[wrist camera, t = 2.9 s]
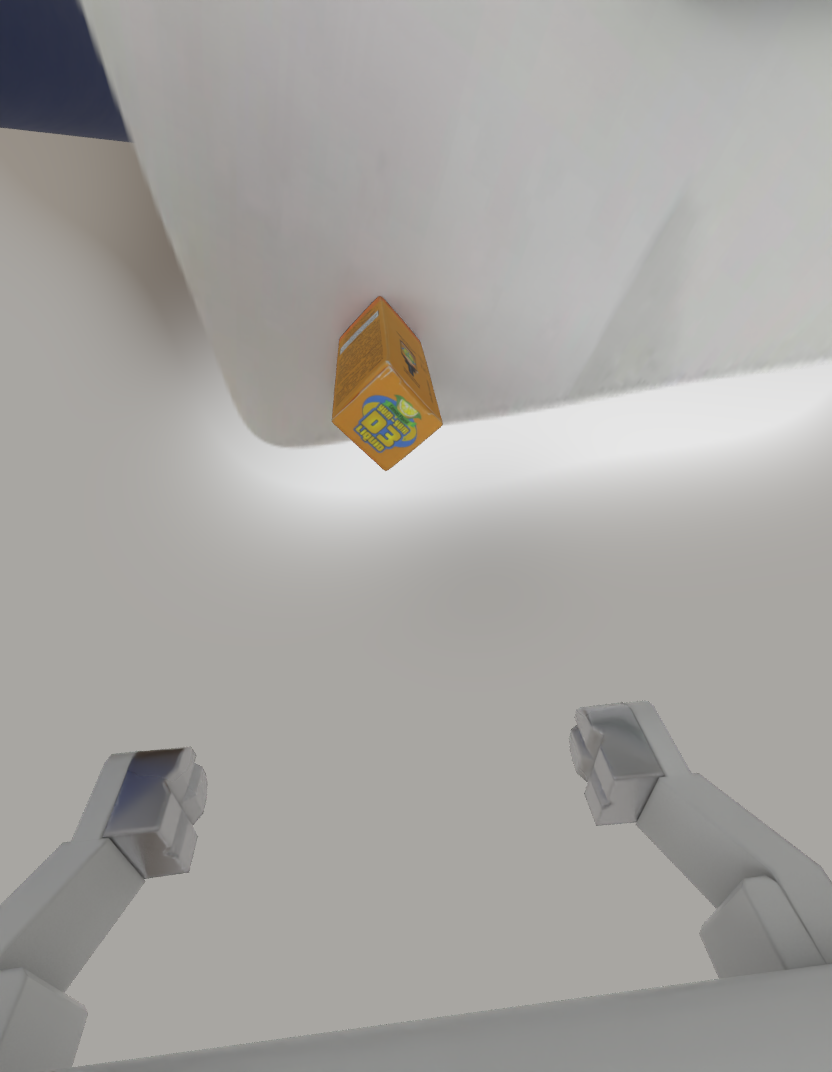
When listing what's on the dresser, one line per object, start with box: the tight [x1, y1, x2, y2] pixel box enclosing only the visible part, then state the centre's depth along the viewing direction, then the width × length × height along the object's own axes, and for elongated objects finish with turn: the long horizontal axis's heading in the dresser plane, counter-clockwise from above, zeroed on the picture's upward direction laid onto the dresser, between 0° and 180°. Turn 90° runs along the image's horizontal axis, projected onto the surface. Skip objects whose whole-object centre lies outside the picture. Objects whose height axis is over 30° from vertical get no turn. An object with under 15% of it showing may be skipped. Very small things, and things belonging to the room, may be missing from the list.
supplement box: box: [332, 296, 443, 471], centre depth 22 cm, size 3×3×10 cm
